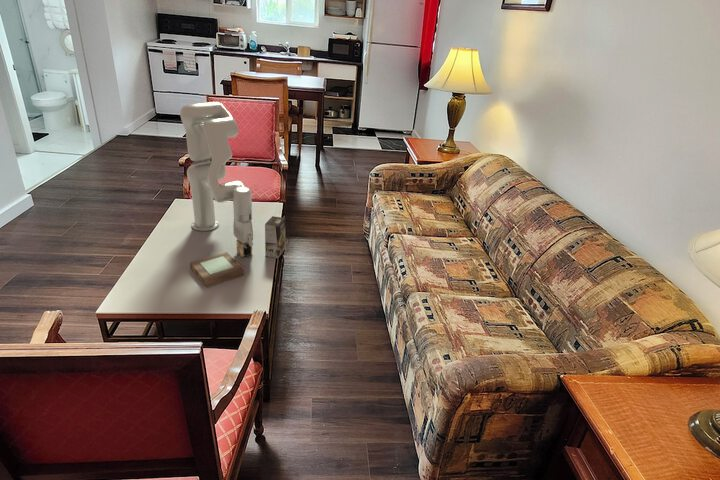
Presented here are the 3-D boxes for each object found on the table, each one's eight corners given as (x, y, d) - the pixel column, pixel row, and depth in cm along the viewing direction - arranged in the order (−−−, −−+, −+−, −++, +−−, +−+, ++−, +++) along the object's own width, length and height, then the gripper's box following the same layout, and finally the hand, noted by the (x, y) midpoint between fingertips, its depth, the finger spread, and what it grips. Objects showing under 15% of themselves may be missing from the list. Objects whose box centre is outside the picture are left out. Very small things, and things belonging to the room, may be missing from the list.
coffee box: (278, 258, 190) (278, 226, 182) (264, 256, 191) (264, 224, 183) (285, 248, 198) (285, 217, 190) (272, 246, 199) (272, 215, 191)
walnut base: (190, 268, 178) (189, 261, 176) (227, 257, 187) (226, 251, 186) (206, 287, 167) (205, 280, 166) (244, 275, 177) (243, 268, 175)
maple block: (236, 251, 191) (236, 240, 188) (247, 248, 194) (246, 237, 191) (242, 257, 188) (241, 245, 185) (252, 253, 191) (252, 242, 188)
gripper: (225, 209, 185) (228, 245, 194) (244, 225, 174) (245, 263, 183) (242, 206, 190) (243, 241, 199) (260, 221, 179) (261, 258, 188)
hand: (244, 251), depth 191 cm, fingers closed on maple block, 5 cm apart
